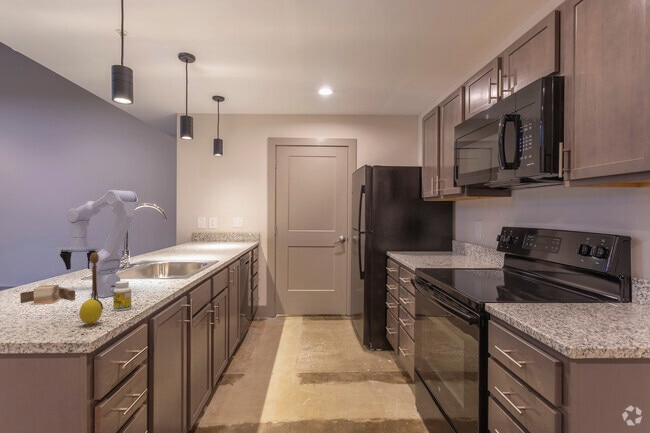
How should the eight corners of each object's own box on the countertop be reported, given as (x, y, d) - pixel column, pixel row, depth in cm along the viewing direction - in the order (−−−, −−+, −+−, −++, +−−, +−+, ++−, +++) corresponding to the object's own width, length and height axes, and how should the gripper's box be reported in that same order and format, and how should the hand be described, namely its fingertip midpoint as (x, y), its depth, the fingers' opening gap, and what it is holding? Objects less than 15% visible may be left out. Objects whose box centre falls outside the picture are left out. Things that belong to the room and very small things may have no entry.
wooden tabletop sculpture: (86, 308, 118) (85, 251, 117) (101, 306, 121) (101, 251, 120) (87, 312, 113) (86, 253, 113) (103, 310, 116) (103, 252, 115)
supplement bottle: (134, 307, 119) (134, 280, 119) (121, 312, 114) (121, 284, 114) (123, 306, 121) (123, 279, 120) (109, 310, 116) (109, 282, 115)
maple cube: (51, 302, 124) (51, 287, 124) (33, 303, 122) (33, 288, 122) (58, 298, 129) (58, 284, 129) (41, 299, 127) (41, 285, 127)
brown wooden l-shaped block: (75, 299, 128) (75, 290, 128) (36, 307, 118) (36, 297, 118) (58, 295, 134) (58, 286, 134) (20, 302, 124) (20, 292, 124)
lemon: (86, 322, 104) (86, 296, 104) (105, 321, 104) (105, 296, 104) (75, 328, 98) (75, 301, 98) (94, 327, 99) (94, 301, 98)
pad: (62, 298, 130) (62, 297, 130) (52, 303, 123) (52, 302, 123) (40, 299, 128) (40, 299, 128) (30, 304, 121) (30, 304, 121)
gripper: (102, 236, 147) (102, 266, 147) (63, 236, 143) (63, 268, 143) (96, 237, 140) (96, 269, 141) (55, 237, 136) (55, 271, 136)
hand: (79, 269), depth 141 cm, fingers open, 7 cm apart
